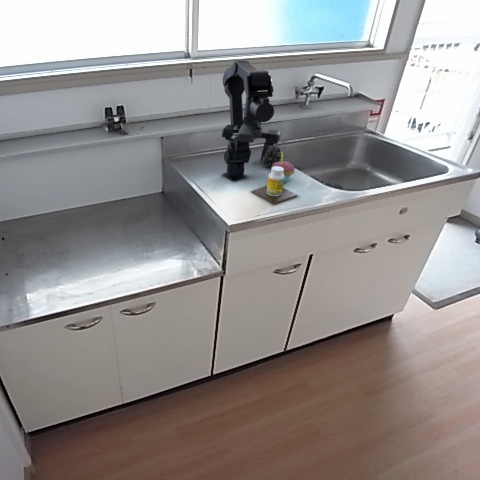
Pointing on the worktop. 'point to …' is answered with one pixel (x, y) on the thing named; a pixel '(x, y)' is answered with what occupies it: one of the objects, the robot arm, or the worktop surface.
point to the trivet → (274, 199)
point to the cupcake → (285, 168)
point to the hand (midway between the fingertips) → (248, 158)
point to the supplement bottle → (275, 181)
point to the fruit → (271, 156)
